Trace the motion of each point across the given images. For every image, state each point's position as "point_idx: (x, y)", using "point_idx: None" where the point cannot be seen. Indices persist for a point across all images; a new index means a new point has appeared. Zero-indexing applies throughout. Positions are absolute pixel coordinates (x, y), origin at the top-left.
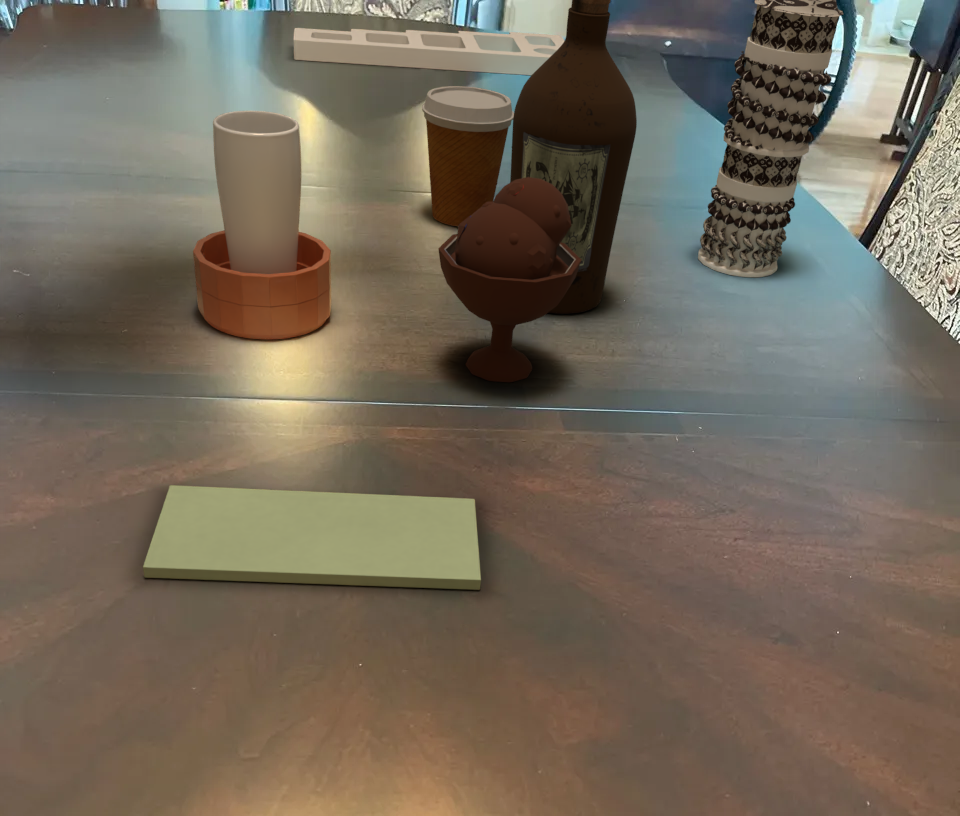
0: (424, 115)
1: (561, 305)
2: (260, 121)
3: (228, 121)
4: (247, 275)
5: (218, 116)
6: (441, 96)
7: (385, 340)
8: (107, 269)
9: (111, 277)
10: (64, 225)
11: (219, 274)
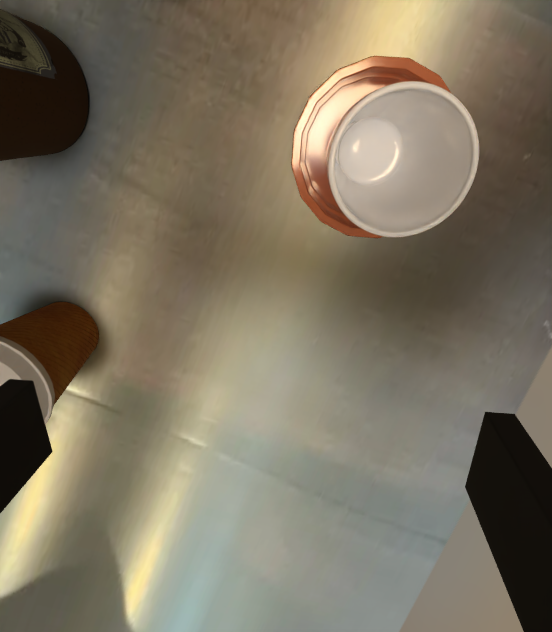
0: (53, 403)
1: (35, 24)
2: (365, 222)
3: (421, 223)
4: (433, 72)
5: (449, 210)
6: None
7: (271, 28)
8: (468, 313)
9: (474, 293)
10: (457, 422)
11: None
